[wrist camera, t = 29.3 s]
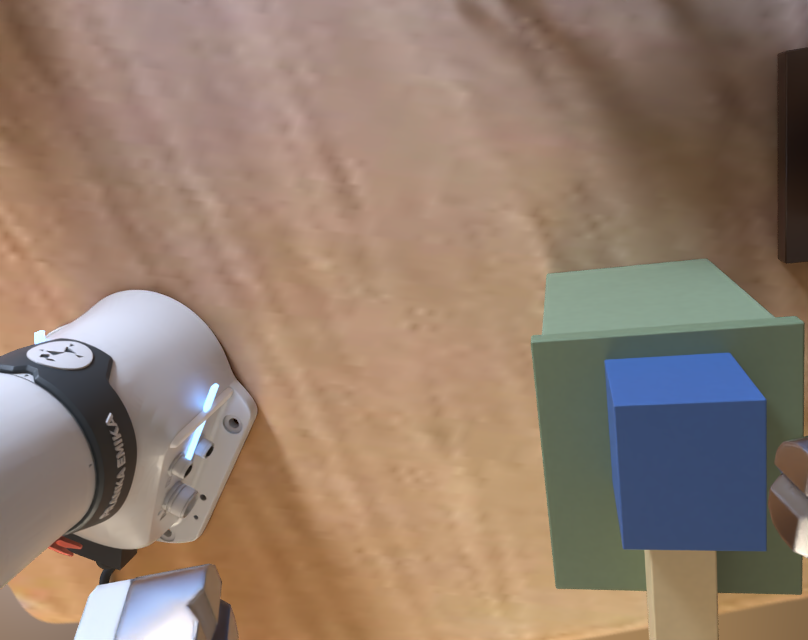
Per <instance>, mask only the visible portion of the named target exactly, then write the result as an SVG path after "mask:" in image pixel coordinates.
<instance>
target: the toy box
mask: <svg viewBox="0 0 808 640" xmlns="http://www.w3.org/2000/svg"><path fill="white" fill-rule="evenodd" d="M531 350H532V359H533V369H534V379H535V389H536V398H537V408H538V418H539V428H540V438H541V447H542V457H543V467H544V477H545V486H546V496H547V506H548V516H549V526H550V535H551V545H552V555H553V565H554V574H555V584H556V588H557V589H590V590H631V591H647V589H646V571H645V553H644V550H624V549H623V546H622V540H621V533H620V527H619V521H618V514H617V508H616V501H615V495H614V488H613V481H612V466H611V451H610V437H609V422H608V407H607V392H606V377H605V363H604V361H605V360H609V359H626V358H643V357H661V356H678V355H695V354H712V353H731V354H732V356H733V357H734V358H735V360H736V361H737V362H738V363H739V365H740V366H741V367H742V369H743V370H744V371H745V373H746V374H747V375H748V376H749V378H750V379H751V380H752V382H753V383H754V384H755V385H756V387H757V388H758V389H759V391H760V392H761V393H762V395H763V396H764V397H765V398H766V400H767V551H717V592H718V593H754V594H795V595H801V594H802V555H800V554H797V553H795V552H793V551H792V549H791V548H790V547H789V546H788V545H787V544H786V543H785V542H784V540H783V539H782V538H781V537H780V535H779V533H778V532H777V530H776V528H775V526H774V525H773V522H772V519H771V515H770V512H769V508H768V498H769V490H770V486H771V485H772V484H773V483H774V482H775V480H776V479H777V478H778V477H779V476H780V475H781V472H780V470H779V469H778V468H777V467H776V465H775V464H774V461H775V456H776V451H777V449H778V447H779V446H780V445H781V444H782V442H783V441H787V440H792V439H796V438H801V437H803V433H804V322H803V321H802V320H800V319H799V318H798V317H796V316H790V317H777V318H775V317H774V316H773V315H772V314H770V313H769V312H768V311H767V310H766V309H765V308H764V307H762V306H761V305H760V304H759V303H758V302H757V301H755V300H754V299H753V298H752V297H751V296H750V295H749V294H747V293H746V292H745V291H744V290H743V289H742V288H740V287H739V286H738V285H737V284H736V283H735V282H733V281H732V280H731V279H730V278H729V277H728V276H727V275H725V274H724V273H723V272H722V271H721V270H720V269H718V268H717V267H716V266H715V265H714V264H713V263H712V262H710V261H709V260H708V259H696V260H686V261H675V262H665V263H655V264H644V265H634V266H624V267H614V268H603V269H593V270H583V271H572V272H562V273H552V274H547V277H546V290H545V303H544V316H543V330H542V335H533V336H532V338H531Z"/></svg>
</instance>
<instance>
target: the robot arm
mask: <svg viewBox="0 0 808 640" xmlns="http://www.w3.org/2000/svg"><path fill="white" fill-rule="evenodd" d="M34 336H35V344H34V345H31V346H27V347H24V348H20V349H17V350H15V351H12V352H10V353H7V354H5V355H2V356H0V590H1V589H2V588H3V587H4V586H5V585H6V584H7V583H8V582H10V581H11V580H12V579H13V578H14V577H15V576H16V575H17V574H18V573H20V572H21V571H22V570H23V569H24V568H25V567H26V566H27V565H29V564H30V563H31V562H32V561H33V560H34V559H35V558H36V557H38V556H39V555H40V554H41V553H42V552H43V551H45V550H46V549H47V548H49V549H51V550H54V551H56V552H58V553H61V554H65V555H68V556H71V557H72V556H73V553H75V554H78V555H80V556H83V557H86V558H88V559H91V560H94V561H96V563H97V565H98V566H99V567H100V568H102V569H104V570H103V572H102V574H101V576H100V582H99V585H98V586H97V587H96V588H95V589H94V590H93V592H92V593H91V594H90V595H89V597H88V600H87V603H86V606H85V609H84V612H83V614H82V617H81V620H80V623H79V626H78V629H77V632H76V635H75V638H74V640H239V636H238V630H237V625H236V620H235V616H234V613H233V610H232V608H231V605H230V604H228V603H226V602H225V601H223V600H221V599H220V597H221V588H222V581H221V578H220V576H219V573H218V571H217V569H216V566H215V565H213V564H205V565H200V566H194V567H189V568H184V569H178V570H173V571H168V572H162V573H157V574H152V575H146V576H141V577H136V578H135V579H129V580H124V581H119V582H113V583H109V579H110V576H111V574H112V573H113V571H114V570H115V569H118V570H121V569H122V568H123V567H124V566H125V565H126V564H127V563H128V562H129V561H130V560H131V559H132V558H133V557H134V556H135V555H136V553H137V549H139V548H143V547H146V546H149V545H151V544H152V543H154V542H155V541H160V542H167V543H185V542H191V541H194V540H196V539H197V538H198V537H199V536H201V535H202V533H203V532H204V530H205V528H206V526H207V523H208V521H209V519H210V517H211V515H212V513H213V510H214V508H215V506H216V504H217V502H218V499H219V497H220V495H221V493H222V491H223V488H224V486H225V484H226V482H227V480H228V477H229V475H230V473H231V471H232V469H233V466H234V464H235V462H236V460H237V458H238V455H239V453H240V451H241V449H242V447H243V445H244V442H245V440H246V438H247V436H248V434H249V431H250V429H251V427H252V425H253V423H254V420H255V418H256V416H257V405H256V403H255V401H254V400H253V398H252V397H251V395H250V394H249V393H248V392H247V390H246V389H245V388H244V387H243V386H242V385H241V384H240V383H239V381H238V380H237V379H236V378H235V376H234V374H233V372H232V370H231V368H230V365H229V363H228V360H227V358H226V355H225V353H224V351H223V348H222V347H221V345H220V343H219V341H218V340H217V338H216V336H215V335H214V334H213V332H212V331H211V329H210V328H209V327H208V326H207V325H206V324H205V322H204V321H203V320H202V319H201V318H200V317H199V316H197V315H196V314H195V313H194V312H193V311H192V310H190V309H189V308H188V307H186V306H185V305H183V304H181V303H180V302H178V301H176V300H174V299H172V298H170V297H168V296H165V295H163V294H159V293H156V292H152V291H146V290H127V291H121V292H117V293H114V294H112V295H109V296H107V297H105V298H104V299H102V300H100V301H99V302H98V303H96V304H95V305H94V306H93V307H92V308H91V309H89V310H88V311H87V312H86V313H84V314H83V315H82V316H80V317H79V318H78V319H76V320H75V321H73V322H72V323H70V324H66V325H64V326H61V327H59V328H57V329H55V330H53V331H52V332H50V333H49V334H48V335H47V336H46V338H45V331H42V330H41V331H38V332H36V333H34ZM233 418H235V419H237V420H238V422H239V424H236V423H235V422H234V420H233ZM774 464H775V465H776V467H777V468H778V469H779V470H780V472H781V475H780V476H779V477H778V478H777V479H776V480H775V482H774V483H773V484H772V485H771V486H770V490H769V498H768V508H769V512H770V515H771V519H772V522H773V525H774V526H775V528H776V530H777V532H778V533H779V535H780V537H781V538H782V539H783V540H784V542H785V543H786V544H787V545H788V546H789V547H790V548H791V549H792V551H793V552H795V553H797V554H800V555H802V556H804V557H806V558H808V436H805V437H801V438H796V439H792V440H787V441H783V442H782V444H781V445H780V446H779V447H778V449H777V451H776V456H775V461H774ZM168 529H169V530H170V531H169V530H168Z"/></svg>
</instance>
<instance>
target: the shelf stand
mask: <svg viewBox="0 0 808 640" xmlns="http://www.w3.org/2000/svg"><path fill="white" fill-rule="evenodd" d="M778 259H779V260H781V261H783V262H784V263H797V262H808V48H802V49H796V50H790V51H785V52H782V53H780V54H778Z"/></svg>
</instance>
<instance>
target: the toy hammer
mask: <svg viewBox="0 0 808 640" xmlns="http://www.w3.org/2000/svg"><path fill="white" fill-rule="evenodd" d="M604 363H605V377H606V392H607V407H608V422H609V437H610V451H611V466H612V481H613V488H614V495H615V501H616V508H617V514H618V521H619V527H620V533H621V540H622V546H623V549H624V550H644V553H645V571H646V589H647V607H648V625H649V640H719V638H718V637H719V635H718V592H717V551H767V400H766V398H765V397H764V396H763V395H762V393H761V392H760V391H759V389H758V388H757V387H756V385H755V384H754V383H753V382H752V380H751V379H750V378H749V376H748V375H747V374H746V373H745V371H744V370H743V369H742V367H741V366H740V365H739V363H738V362H737V361H736V360H735V358H734V357H733V356H732V354H731V353H712V354H695V355H678V356H661V357H643V358H626V359H609V360H605V361H604Z"/></svg>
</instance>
